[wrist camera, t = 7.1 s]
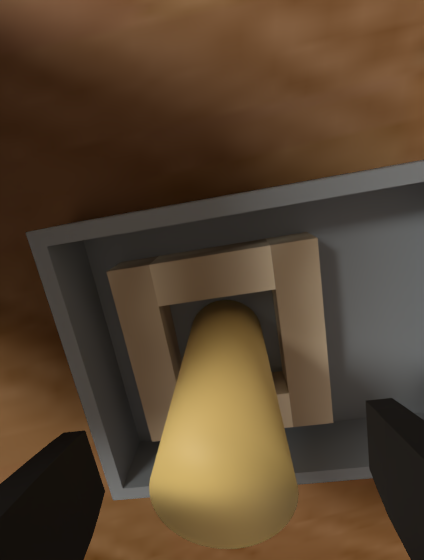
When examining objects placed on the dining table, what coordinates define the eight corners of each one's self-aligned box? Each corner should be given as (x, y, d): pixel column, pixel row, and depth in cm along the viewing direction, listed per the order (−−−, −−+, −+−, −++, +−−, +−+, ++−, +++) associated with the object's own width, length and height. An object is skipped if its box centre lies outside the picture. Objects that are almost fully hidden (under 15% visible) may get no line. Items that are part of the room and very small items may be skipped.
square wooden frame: (306, 231, 13) (317, 237, 11) (322, 397, 15) (333, 422, 14) (121, 262, 14) (106, 271, 12) (160, 415, 16) (152, 441, 14)
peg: (255, 294, 14) (287, 423, 6) (266, 358, 15) (306, 542, 7) (184, 306, 14) (132, 443, 7) (199, 368, 15) (168, 554, 7)
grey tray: (454, 154, 12) (527, 142, 9) (447, 412, 16) (500, 467, 12) (70, 222, 14) (25, 232, 11) (134, 444, 17) (113, 500, 14)
